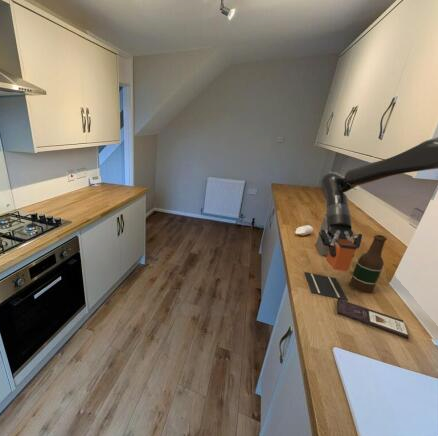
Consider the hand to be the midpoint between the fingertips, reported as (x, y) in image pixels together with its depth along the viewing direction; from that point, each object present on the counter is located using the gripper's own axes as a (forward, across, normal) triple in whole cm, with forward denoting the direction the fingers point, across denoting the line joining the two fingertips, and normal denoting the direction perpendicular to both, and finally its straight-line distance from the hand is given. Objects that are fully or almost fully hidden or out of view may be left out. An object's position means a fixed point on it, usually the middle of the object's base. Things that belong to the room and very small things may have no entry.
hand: (342, 257), depth 90 cm
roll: (-36, +6, +53) cm, 65 cm away
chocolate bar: (+20, +9, +5) cm, 22 cm away
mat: (+8, 0, +17) cm, 18 cm away
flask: (-18, +12, +43) cm, 49 cm away
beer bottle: (+6, +15, +19) cm, 25 cm away
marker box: (+2, 0, +5) cm, 5 cm away
